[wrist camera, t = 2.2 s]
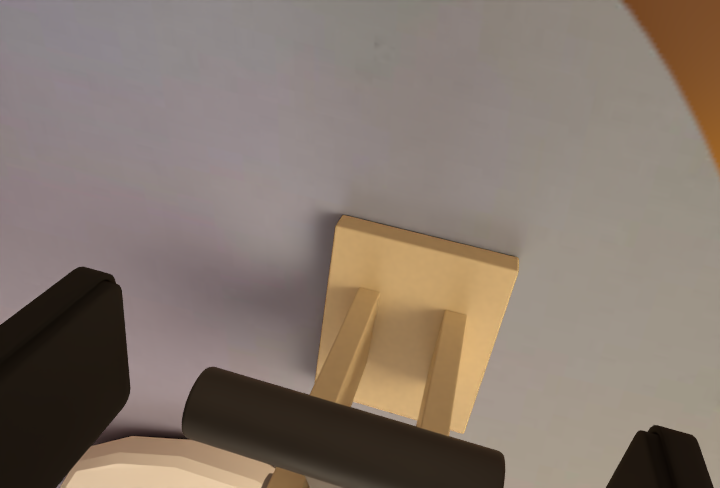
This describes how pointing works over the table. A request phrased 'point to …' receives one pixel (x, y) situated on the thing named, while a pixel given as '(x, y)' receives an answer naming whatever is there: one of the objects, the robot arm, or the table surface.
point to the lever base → (407, 326)
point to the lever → (330, 438)
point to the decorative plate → (164, 466)
